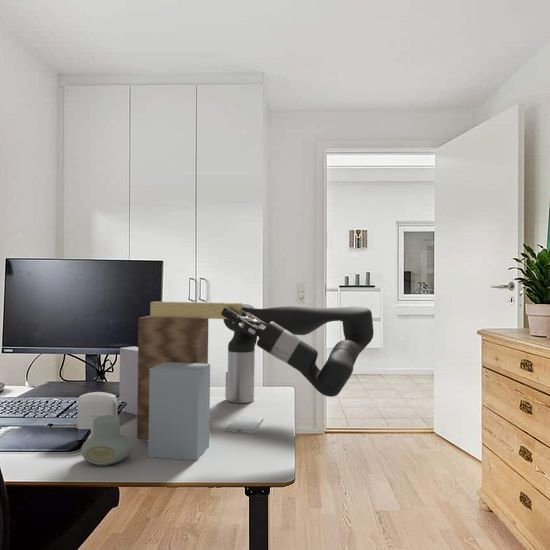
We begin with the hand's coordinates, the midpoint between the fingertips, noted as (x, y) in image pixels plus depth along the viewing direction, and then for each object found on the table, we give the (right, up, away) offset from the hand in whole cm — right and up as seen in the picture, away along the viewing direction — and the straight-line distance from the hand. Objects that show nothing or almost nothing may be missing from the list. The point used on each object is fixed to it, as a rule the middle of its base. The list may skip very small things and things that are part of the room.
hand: (227, 309), depth 138 cm
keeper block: (-11, -34, -10) cm, 37 cm away
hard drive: (+4, -35, +13) cm, 38 cm away
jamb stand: (-15, -34, +3) cm, 37 cm away
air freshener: (-26, -34, -17) cm, 46 cm away
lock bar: (-8, -2, +2) cm, 9 cm away
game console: (-24, -34, +22) cm, 47 cm away
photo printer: (-34, -34, -1) cm, 48 cm away
